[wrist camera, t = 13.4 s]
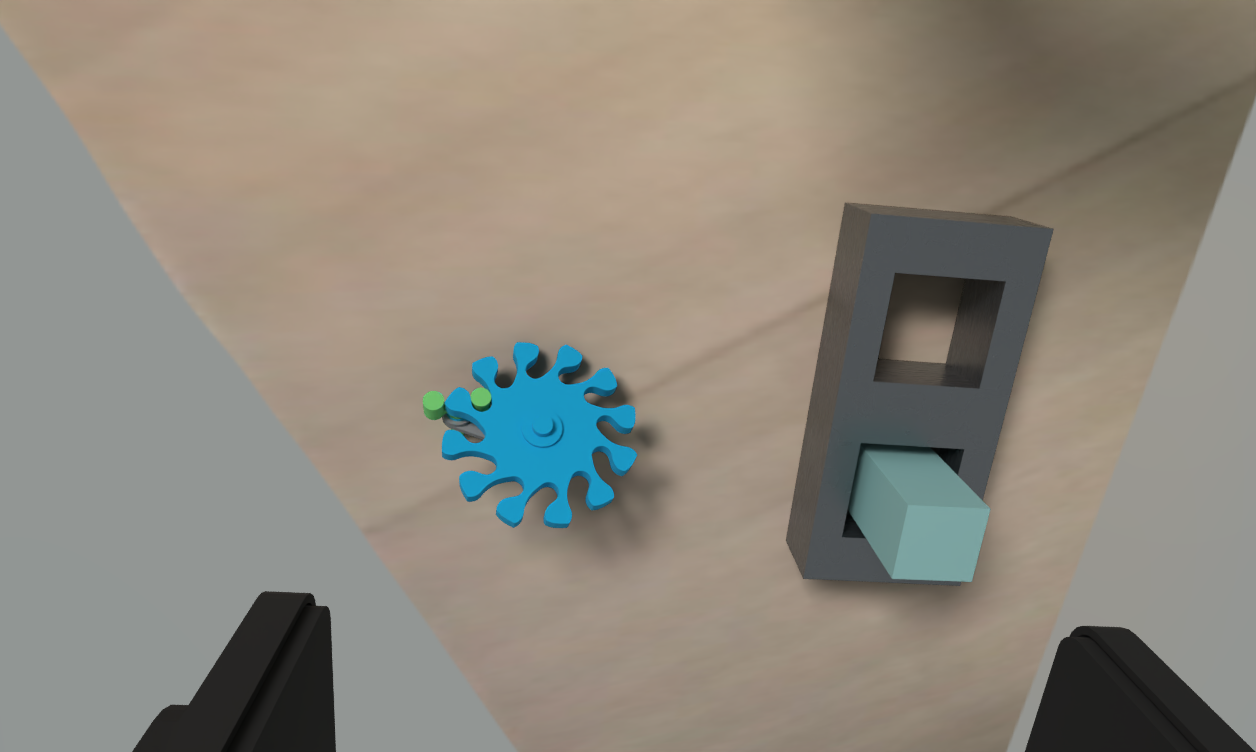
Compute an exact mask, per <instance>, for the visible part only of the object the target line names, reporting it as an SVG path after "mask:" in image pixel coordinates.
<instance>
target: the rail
mask: <svg viewBox="0 0 1256 752" xmlns="http://www.w3.org/2000/svg"><path fill="white" fill-rule="evenodd" d="M1052 233H1053V229H1052V228H1049V227H1045V226H1042V225H1038V224H1035V223H1031V222H1028V221H1025V220H1021V219H1018V218H1014V217H1009V216H997V215H986V214H974V213H962V212H950V211H939V210H927V209H915V208H903V207H892V206H880V205H868V204H856V203H845V206H844V211H843V217H842V223H841V229H840V234H839V240H838V246H837V251H836V257H835V263H834V269H833V274H832V280H831V286H830V291H829V297H828V303H827V309H826V314H825V320H824V326H823V331H822V337H821V343H820V349H819V354H818V360H817V366H816V371H815V377H814V383H813V389H812V394H811V400H810V406H809V411H808V417H807V423H806V429H805V434H804V440H803V446H802V451H801V457H800V463H799V469H798V474H797V480H796V486H795V491H794V497H793V503H792V509H791V514H790V520H789V526H788V531H787V537H786V542H787V544H788V546H789V548H790V550H791V553H792V555H793V557H794V559H795V561H796V564H797V566H798V568H799V570H800V572H801V575H802V577H803V579H823V580H845V581H867V582H889V583H911V584H933V585H955V586H960V584H961V581H937V580H911V579H892V578H891V577H890V575H889V573H888V572H887V570H886V569H885V567H884V566H883V564H882V562H881V561H880V559H879V558H878V556H877V555H876V553H875V551H874V550H873V548H872V547H871V545H870V544H869V542H868V541H867V539H866V537H865V536H864V534H863V533H862V531H861V530H860V528H859V526H858V525H857V523H856V522H855V520H854V519H853V517H852V515H851V514H850V512H849V511H848V504H849V499H850V495H851V490H852V485H853V480H854V475H855V470H856V465H857V460H858V455H859V450H860V445H861V443H869V444H886V445H903V446H919V447H930V448H931V449H932V450H933V451H934V452H935V453H936V454H937V455H938V456H939V457H940V458H941V459H942V460H943V461H944V462H945V463H946V464H947V465H948V466H949V467H950V468H951V469H952V470H953V471H954V472H955V473H956V474H957V475H958V476H959V477H960V478H961V479H962V480H963V481H964V482H965V483H966V484H967V485H968V486H969V487H970V488H971V490H972V491H973V492H974V493H975V494H976V495H977V496H978V497H979V498H980V499H981V500H983V496H984V493H985V489H986V485H987V481H988V477H989V473H990V470H991V466H992V462H993V458H994V454H995V451H996V447H997V443H998V439H999V435H1000V431H1001V428H1002V424H1003V420H1004V416H1005V412H1006V409H1007V405H1008V401H1009V397H1010V393H1011V389H1012V386H1013V382H1014V378H1015V374H1016V370H1017V367H1018V363H1019V359H1020V355H1021V351H1022V347H1023V344H1024V340H1025V336H1026V332H1027V328H1028V325H1029V321H1030V317H1031V313H1032V309H1033V305H1034V302H1035V298H1036V294H1037V290H1038V286H1039V283H1040V279H1041V275H1042V271H1043V267H1044V263H1045V260H1046V256H1047V252H1048V248H1049V244H1050V241H1051V237H1052ZM895 273H904V274H917V275H930V276H943V277H956V278H966V279H965V283H964V288H963V292H962V296H961V301H960V305H959V309H958V314H957V318H956V322H955V327H954V331H953V335H952V340H951V344H950V348H949V353H948V357H947V361H946V364H943V363H928V362H914V361H899V360H885V359H878V355H879V350H880V345H881V340H882V335H883V330H884V325H885V320H886V315H887V310H888V305H889V300H890V295H891V290H892V285H893V280H894V275H895Z"/></svg>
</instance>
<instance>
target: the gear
mask: <svg viewBox="0 0 1256 752" xmlns="http://www.w3.org/2000/svg"><path fill="white" fill-rule="evenodd" d="M538 353H539V348H538V346H537V345H535V344H531V343H521V342H517V343H516V344H515V346H514V352H513V360H514V362H515V364H516V368H517V375H516V378H515V380H514V383H513V384H512V385H511V386H510V387H509V388H500V387H498V386H497V385H496V384H495V379H496V377H497V372H498V363H497V360H496V359H495V358H494V357H493V356H492V357H485V358H482V359H480V360H478V361H476V362H474V363H473V364H472V374H473V377H474V379H475V380H476V381H477V382H479V383H480V384H481V385H482V386H483V387H484V388H477V389H475V390H474V391H473V392H472V393H471V397H470V394H469V392H468V391H467V390H465V389H464V388H461V387H458V388H457V389H455V390H454V391H453V392H452V393H451V394H450V395H449V397H448V398H447V400H446V401H445V402H444V397H443V395H442V394H441V393H439V392H437V391H430V392H428V393H427V394H426V395H425V396H424V397H423V407H424V414H425V416H426V417H427V418H429V419H431V420H437V419H440V418H441V417H442V419H443V422H444V423H445V425H446V426H447V427H449V428H451V430H447V431H446V432H445V434H444V436H443V441H442V457H443V458H444V459H447V460H456V459H459V458H462V457H468V456H474V457H480V458H484V459H486V460H489V461H492V462H493V463H494V464H495V465H496V470H495V471H494V472H493V473H491V474H488V475H485V474H481V473H478V472H475V471H466V472H464V473H462V474H461V475H460V476H459V482H460V488H461V491H462V493H463V495H464V497H465V498H466V500H467V501H468V502H472V501H476V500H478V499H479V498H480V497H481V496H482V495H483V493H484V492H486V491H487V490H488V489H489V488H491V487H493V486H495V485H497V484H500V483H505V482H511V481H515V482H518V483H519V484H521V486H522V488H523V492H522V493H521V494H520V495H518V496H515V497H509V498H505V499H503V500H502V501H500V503H499V504H498V506H497V510H496V515H497V517H498V518H499V519H500V520H501V521H503V522H504V523H506V524H507V525H509V526H511V527H513V528H514V527H516V526H518V525H519V524H520V522H521V521H522V518H523V514H524V508H525V506H526V504H527V502H528V501H529V499H530V498H531V497H532V496H533V495H534V494H535V493H536V492H538V491H539V490H540V489H542V488H544V487H550V488H552V489H554V490H555V491H556V493H557V499H556V500H555V501H554V502H552V503H551V504H550V505H549V506H548V507H547V509H546V511H545V514H544V524H545V525H546V526H549V527H553V528H567V527H568V525H569V523H570V521H571V518H572V512H571V509H570V507H569V504H568V500H567V489H568V485H569V482H570V480H571V479H572V478H573V477H575V476H582V477H584V478H586V479H587V481H588V483H589V489H588V492H587V495H586V504H587V506H588V507H589V509H591V510H597V509H600V508H602V507H604V506H606V505H608V504H609V503H611V502H612V500H613V498H614V493H613V490H612V488H611V487H610V486H609V485H608V484H606V483H605V482H604V481H603V480H602V479H601V478H600V477H599V475H598V474H597V472H596V470H595V467H594V464H593V460H592V454H593V453H594V452H598V451H600V452H604V453H605V454H606V455H607V456H608V458H609V461H610V466H611V469H612V470H613V472H614V473H616V474H617V475H619V476H623V475H625V474H626V473H627V472H628V471H629V469H630V468H631V466H632V464H633V462H634V461H635V459H636V457H637V454H636V452H635V451H634V450H633V449H632V448H629V447H624V446H620V445H617V444H614V443H612V442H611V441H609V440H608V439H607V438H606V437H605V436H603V434H602V433H601V432H600V431H599V430H598V429H597V426H596V424H597V423H598V422H600V421H606V422H608V423H610V424H611V425H612V426H613V427H614V429H615V430H616V431H618V432H619V433H622V434H628V433H630V432H631V430H632V428H633V426H634V424H635V408H634V407H633V406H630V405H622V406H620V407H616V408H601V407H598V406H595V405H592V404H590V403H588V402H587V401H586V400H585V399H584V395H585V394H587V393H594V394H597V395H600V396H610V395H612V394H613V393H614V392H615V390H616V387H617V382H616V379H615V377H614V375H613V373H612V372H611V371H610V369H609V368H602V369H600V370H598V371H597V372H596V374H595V375H594V376H593V377H591V378H590V379H588V380H587V381H584V382H582V383H577V384H570V385H567V384H564V383H562V382H561V381H560V380H559V378H558V376H560V375H561V374H565V373H572V372H575V371H576V370H578V368H579V367H580V364H581V361H582V355H581V354H580V353H579V352H578V351H577V350H575V349H574V348H572V347H570V346H568V345H564V346H562V347H561V348H560V349H559V352H558V356H557V361H556V363H555V365H554V366H553V368H552V369H551V370H550V371H549V372H548V373H546V374H545V375H544V376H542V377H541V378H538V379H534V378H531V377H529V376H528V375H527V373H526V371H527V370H528V369H529V368H531V367H532V366H533V365H535V363H536V362H537V359H538ZM490 407H491V408H490ZM464 433H465V434H468V435H470V436H473V437H476V438H479V439H482V440H483V441H481V442H479V443H471V442H469V441H468V440H467V439H466V438H465V437H464V436H463V435H464Z"/></svg>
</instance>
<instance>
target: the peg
mask: <svg viewBox="0 0 1256 752" xmlns="http://www.w3.org/2000/svg"><path fill="white" fill-rule="evenodd" d="M848 511H849V512H850V514H851V515H852V517H853V519H854V520H855V522H856V523H857V525H858V526H859V528H860V530H861V531H862V533H863V534H864V536H865V537H866V539H867V541H868V542H869V544H870V545H871V547H872V548H873V550H874V551H875V553H876V555H877V556H878V558H879V559H880V561H881V562H882V564H883V566H884V567H885V569H886V570H887V572H888V573H889V575H890V577H891V578H892V579H911V580H937V581H963V582H972V579H973V575H974V571H975V567H976V563H977V559H978V555H979V552H980V548H981V544H982V540H983V536H984V532H985V528H986V525H987V521H988V517H989V513H990V508H989V507H988V506H987V505H986V504H985V503H984V502H983V501H982V500H981V499H980V498H979V497H978V496H977V495H976V494H975V493H974V492H973V491H972V490H971V488H970V487H969V486H968V485H967V484H966V483H965V482H964V481H963V480H962V479H961V478H960V477H959V476H958V475H957V474H956V473H955V472H954V471H953V470H952V469H951V468H950V467H949V466H948V465H947V464H946V463H945V462H944V461H943V460H942V459H941V458H940V457H939V456H938V455H937V454H936V453H935V452H934V451H933V450H932V449H931V448H930V447H919V446H903V445H886V444H869V443H861V445H860V450H859V455H858V460H857V465H856V470H855V475H854V480H853V485H852V490H851V495H850V499H849V504H848Z"/></svg>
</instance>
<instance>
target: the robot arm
mask: <svg viewBox="0 0 1256 752" xmlns="http://www.w3.org/2000/svg"><path fill="white" fill-rule="evenodd" d="M133 752H336V744H335V719H334V692H333V669H332V641H331V617H330V610H329V608H328V607H327V606H316V603H315V599H314V596H313V595H312V594H311V593H291V592H267V591H265V592H263V593H261V594H260V595H259V596H258V598H257V599H256V601H255V602H254V604H253V605H252V607H251V608H250V610H249V611H248V613H247V615H246V616H245V618H244V619H243V621H242V622H241V624H240V626H239V627H238V629H237V630H236V632H235V633H234V635H233V637H232V638H231V640H230V641H229V643H228V644H227V646H226V647H225V649H224V651H223V652H222V654H221V655H220V657H219V658H218V660H217V661H216V663H215V665H214V666H213V668H212V669H211V671H210V672H209V674H208V676H207V677H206V679H205V680H204V682H203V683H202V685H201V687H200V688H199V690H198V691H197V693H196V694H195V696H194V698H193V699H192V701H191V702H190V704H189V705H170V706H168V707H167V708H165V709H163V710H162V711H161V712H160V713H159V715H158V716H157V717H156V718H155V719H154V720H153V722H152V723H151V725H150V727H149V728H148V729H147V731H146V732H145V734H144V735H143V737H142V738H141V740H140V741H139V743H138V744H137V745H136V747H135V748H134V750H133ZM1025 752H1255V751H1254V750H1253V749H1252V748H1251V747H1250V746H1249V745H1248V744H1247V743H1246V742H1245V741H1244V740H1243V739H1242V738H1241V737H1240V736H1239V735H1238V734H1237V733H1236V732H1235V731H1234V730H1233V729H1231V727H1229V725H1227V724H1226V723H1225V722H1224V721H1223V720H1222V719H1221V718H1220V717H1219V716H1218V715H1217V714H1216V713H1215V712H1214V711H1213V710H1212V709H1211V708H1210V707H1209V706H1208V705H1207V704H1206V703H1205V702H1204V701H1203V700H1202V699H1201V698H1200V697H1199V696H1198V695H1197V694H1196V693H1195V692H1194V691H1193V690H1192V689H1191V688H1190V687H1189V686H1187V684H1186V683H1185V682H1184V681H1182V680H1181V679H1180V678H1179V677H1178V676H1177V675H1176V674H1175V673H1174V672H1173V671H1172V670H1171V669H1170V668H1169V667H1168V666H1167V665H1166V664H1165V663H1164V662H1163V661H1162V660H1161V659H1160V658H1159V657H1158V656H1157V655H1156V654H1155V653H1154V652H1153V651H1152V650H1151V649H1150V648H1149V647H1148V646H1147V645H1146V644H1145V643H1144V642H1143V641H1142V640H1141V639H1140V638H1139V637H1137V636H1136V634H1134V633H1133V632H1131V631H1130V630H1129V629H1125V628H1121V627H1098V626H1080V627H1077V628H1076V629H1074V631H1073V632H1072V633H1071V635H1070V637H1066V638H1064V639H1063V640H1062V641H1061V642H1060V644H1059V646H1058V649H1057V652H1056V655H1055V659H1054V662H1053V665H1052V668H1051V671H1050V674H1049V677H1048V681H1047V684H1046V687H1045V690H1044V693H1043V696H1042V699H1041V703H1040V706H1039V709H1038V712H1037V715H1036V718H1035V722H1034V725H1033V728H1032V731H1031V734H1030V737H1029V740H1028V743H1027V747H1026V750H1025Z"/></svg>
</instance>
